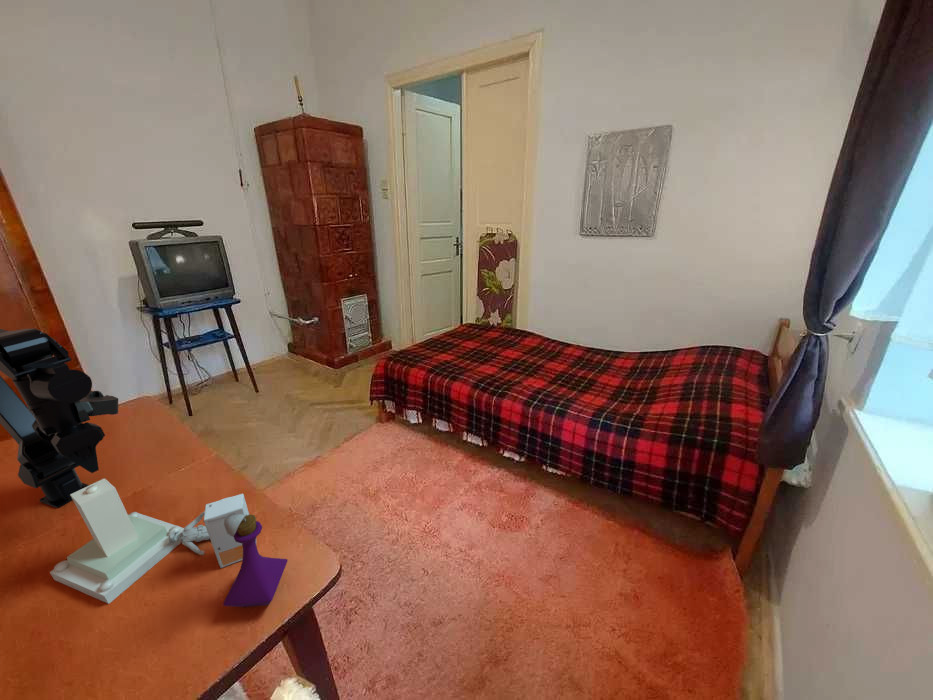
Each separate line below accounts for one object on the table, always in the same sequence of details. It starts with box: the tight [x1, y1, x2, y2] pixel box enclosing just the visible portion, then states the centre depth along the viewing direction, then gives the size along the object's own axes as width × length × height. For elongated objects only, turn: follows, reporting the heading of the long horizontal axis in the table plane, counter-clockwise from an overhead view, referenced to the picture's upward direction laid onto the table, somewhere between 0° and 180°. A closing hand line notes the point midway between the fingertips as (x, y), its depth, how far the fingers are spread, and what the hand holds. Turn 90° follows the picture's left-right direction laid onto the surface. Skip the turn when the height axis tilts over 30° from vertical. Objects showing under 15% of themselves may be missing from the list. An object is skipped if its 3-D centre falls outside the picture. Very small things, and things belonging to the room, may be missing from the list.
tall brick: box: [70, 478, 139, 557], centre depth 67 cm, size 5×5×13 cm
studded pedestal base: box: [49, 511, 185, 605], centre depth 70 cm, size 14×14×4 cm
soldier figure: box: [169, 510, 210, 556], centre depth 73 cm, size 8×5×12 cm
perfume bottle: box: [222, 513, 288, 608], centre depth 61 cm, size 8×8×18 cm
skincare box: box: [203, 493, 250, 569], centre depth 69 cm, size 6×4×12 cm
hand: (87, 465), depth 75 cm, fingers open, 9 cm apart
